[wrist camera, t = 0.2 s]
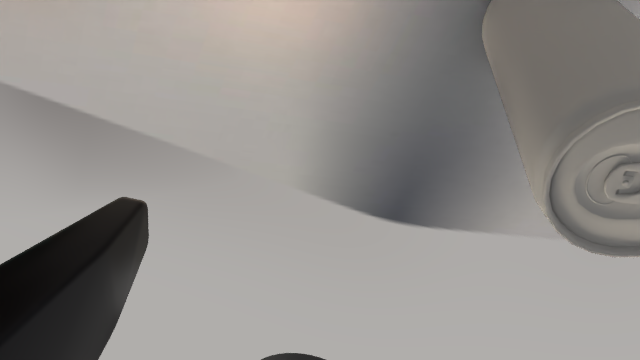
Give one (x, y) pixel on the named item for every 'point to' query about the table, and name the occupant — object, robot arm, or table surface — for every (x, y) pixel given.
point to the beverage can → (574, 112)
